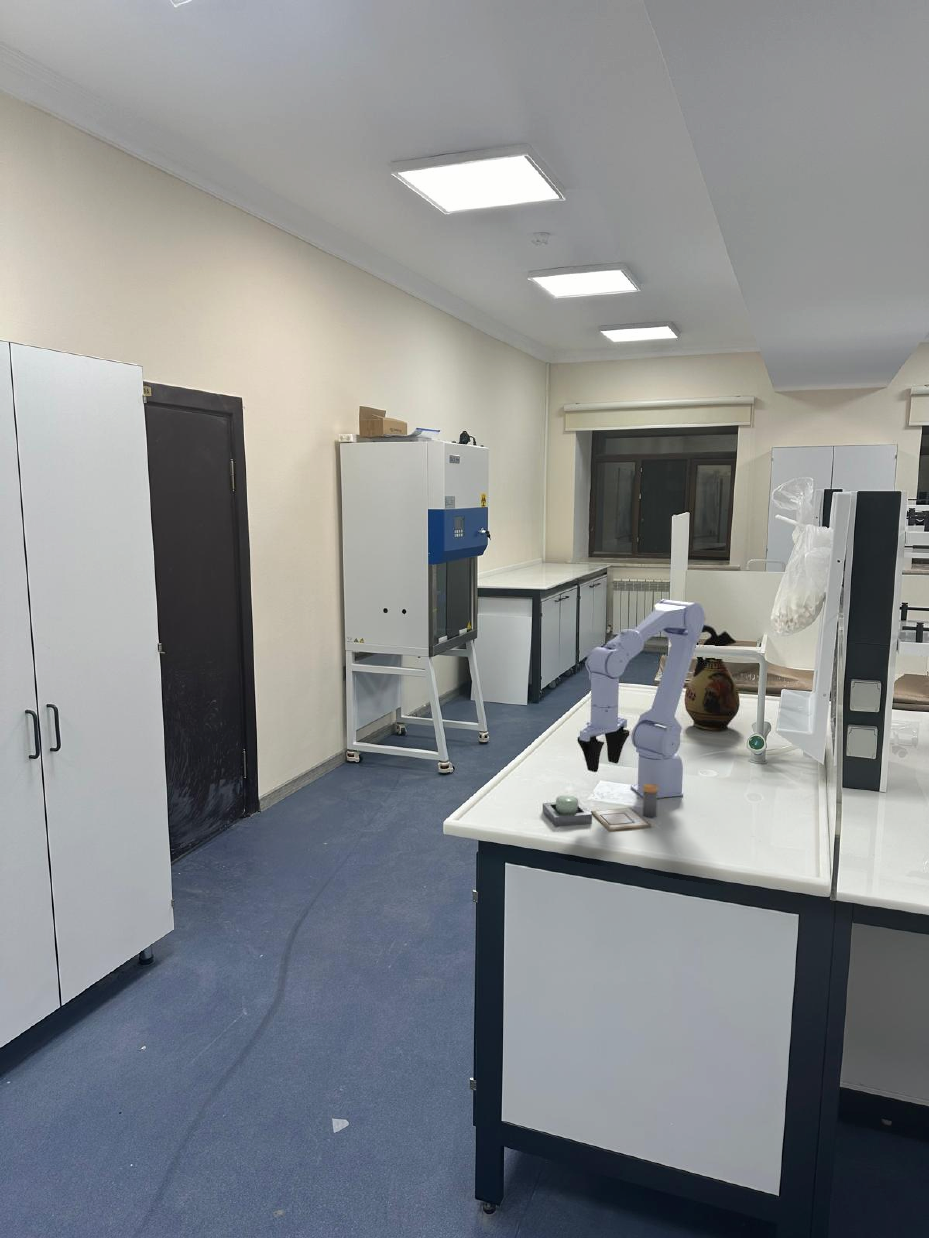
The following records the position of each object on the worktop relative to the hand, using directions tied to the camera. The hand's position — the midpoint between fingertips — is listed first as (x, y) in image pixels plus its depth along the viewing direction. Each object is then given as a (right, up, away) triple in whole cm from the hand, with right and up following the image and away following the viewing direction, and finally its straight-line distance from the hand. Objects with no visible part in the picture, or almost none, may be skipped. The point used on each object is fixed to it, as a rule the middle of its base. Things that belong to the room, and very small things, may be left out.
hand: (603, 766), depth 173 cm
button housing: (-8, -10, -3) cm, 13 cm away
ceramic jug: (+42, 0, +66) cm, 78 cm away
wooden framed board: (+3, -10, -4) cm, 12 cm away
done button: (-8, -9, -3) cm, 12 cm away
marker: (+9, -10, -2) cm, 14 cm away
